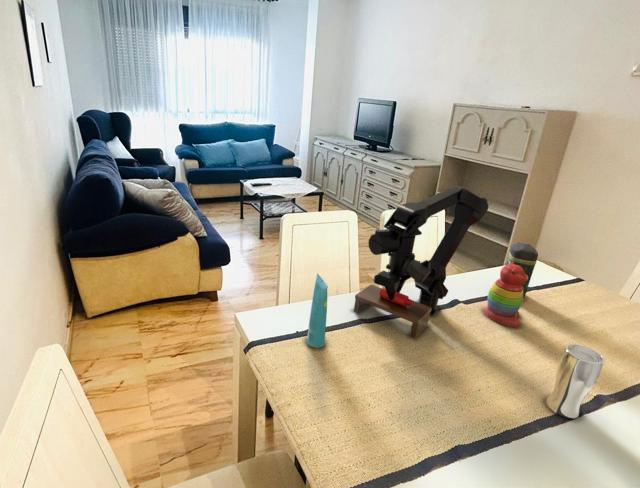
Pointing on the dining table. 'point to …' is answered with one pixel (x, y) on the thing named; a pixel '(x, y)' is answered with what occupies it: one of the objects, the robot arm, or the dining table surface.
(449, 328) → the dining table surface
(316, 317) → the tube
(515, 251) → the coffee jar
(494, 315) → the stacking bear
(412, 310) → the shelf
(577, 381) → the silver metal cylinder
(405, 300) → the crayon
